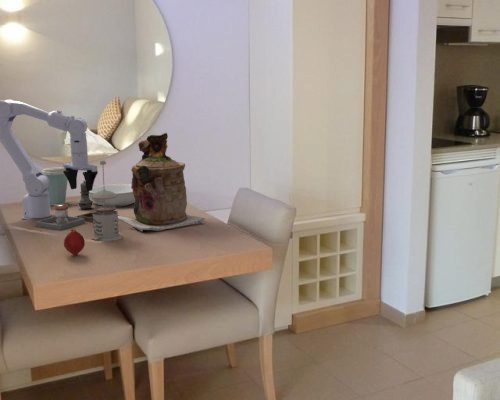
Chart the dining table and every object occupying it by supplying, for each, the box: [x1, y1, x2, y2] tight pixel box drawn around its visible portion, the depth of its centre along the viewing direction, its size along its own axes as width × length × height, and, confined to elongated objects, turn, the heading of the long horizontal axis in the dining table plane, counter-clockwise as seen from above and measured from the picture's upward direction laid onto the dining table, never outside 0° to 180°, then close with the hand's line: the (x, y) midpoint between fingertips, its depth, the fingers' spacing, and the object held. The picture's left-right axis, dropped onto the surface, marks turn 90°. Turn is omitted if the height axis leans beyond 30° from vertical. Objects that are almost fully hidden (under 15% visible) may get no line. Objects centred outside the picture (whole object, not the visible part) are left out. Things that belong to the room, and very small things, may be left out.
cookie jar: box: [117, 132, 206, 232], centre depth 214 cm, size 25×25×32 cm
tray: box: [34, 215, 86, 231], centre depth 210 cm, size 12×12×2 cm
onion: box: [63, 228, 86, 256], centre depth 177 cm, size 6×6×8 cm
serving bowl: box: [89, 183, 135, 208], centre depth 244 cm, size 21×21×7 cm
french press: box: [91, 160, 123, 242], centre depth 196 cm, size 10×12×25 cm
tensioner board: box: [74, 210, 120, 223], centre depth 221 cm, size 13×13×4 cm
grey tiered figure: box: [77, 180, 94, 210], centre depth 233 cm, size 6×6×12 cm
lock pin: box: [53, 203, 69, 225], centre depth 210 cm, size 5×5×7 cm
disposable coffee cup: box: [41, 166, 69, 206], centre depth 245 cm, size 11×11×15 cm
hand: (81, 189), depth 221 cm, fingers open, 7 cm apart
